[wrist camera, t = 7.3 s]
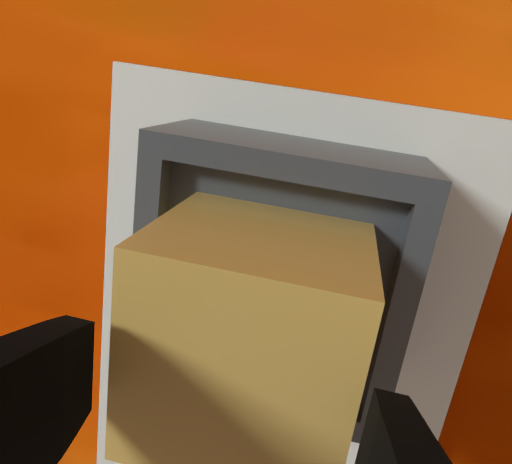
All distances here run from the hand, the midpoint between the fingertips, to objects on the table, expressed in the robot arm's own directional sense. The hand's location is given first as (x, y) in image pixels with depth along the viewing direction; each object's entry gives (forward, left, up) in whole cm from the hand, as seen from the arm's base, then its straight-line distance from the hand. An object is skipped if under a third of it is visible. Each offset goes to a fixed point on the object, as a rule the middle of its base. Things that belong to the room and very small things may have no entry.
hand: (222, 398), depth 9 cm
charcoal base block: (0, 0, -10) cm, 10 cm away
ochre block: (0, 0, -5) cm, 5 cm away
